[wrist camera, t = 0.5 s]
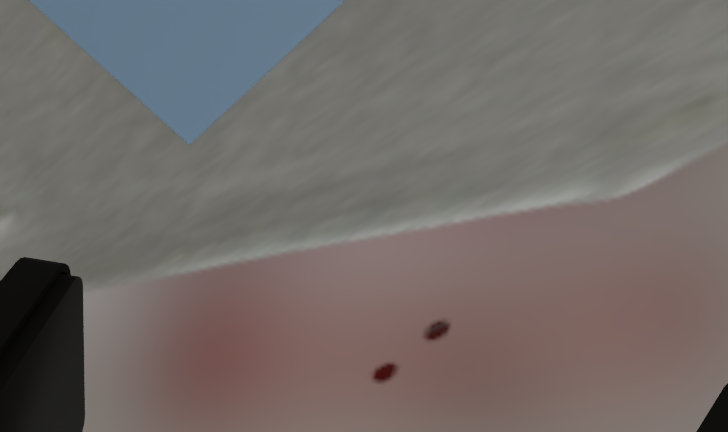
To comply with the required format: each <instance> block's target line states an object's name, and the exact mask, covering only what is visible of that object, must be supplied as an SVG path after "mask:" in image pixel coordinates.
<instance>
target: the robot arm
mask: <svg viewBox="0 0 728 432" xmlns="http://www.w3.org/2000/svg"><path fill="white" fill-rule="evenodd" d="M83 338H84V336H83V284H82V280H81V278H80V277H77V276H71V275H70V269H69V267H68V265H66V264H64V263H57V262H51V261H45V260H39V259H33V258H26V257H24V258H20V259H19V260H18V261H17V262H16V263H15V264H14V265H13V267H12V268H11V269H10V270H9V271H8V273H7V274H6V275H5V276H4V278H3V279H2V280H1V281H0V432H82V430H83V426H84V419H85V397H84V339H83ZM697 432H728V384H727V385H726V386H725V387H724V388H723V390H722V392H721V393H720V395H719V397H718V398H717V400H716V401H715V403H714V404H713V406H712V408H711V409H710V411H709V413H708V414H707V416H706V417H705V419H704V421H703V422H702V424H701V425H700V427H699V429H698V430H697Z"/></svg>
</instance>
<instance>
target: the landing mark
mask: <svg viewBox="0 0 728 432" xmlns="http://www.w3.org/2000/svg"><path fill="white" fill-rule="evenodd" d="M30 1H31V2H32V3H33V4H34V5H35V6H36V7H37V8H38V9H40V10H41V11H42V12H43V13H44V14H45V15H46V16H47V17H48V18H49V19H51V20H52V21H53V22H54V23H55V24H56V25H57V26H58V27H59V28H61V29H62V30H63V31H64V32H65V33H66V34H67V35H68V36H69V37H71V38H72V39H73V40H74V41H75V42H76V43H77V44H78V45H79V46H80V47H82V48H83V49H84V50H85V51H86V52H87V53H88V54H89V55H90V56H92V57H93V58H94V59H95V60H96V61H97V62H98V63H99V64H100V65H102V66H103V67H104V68H105V69H106V70H107V71H108V72H109V73H110V74H111V75H113V76H114V77H115V78H116V79H117V80H118V81H119V82H120V83H121V84H123V85H124V86H125V87H126V88H127V89H128V90H129V91H130V92H131V93H133V94H134V95H135V96H136V97H137V98H138V99H139V100H140V101H141V102H142V103H144V104H145V105H146V106H147V107H148V108H149V109H150V110H151V111H152V112H154V113H155V114H156V115H157V116H158V117H159V118H160V119H161V120H162V121H164V122H165V123H166V124H167V125H168V126H169V127H170V128H171V129H172V130H173V131H175V132H176V133H177V134H178V135H179V136H180V137H181V138H182V139H183V140H185V141H186V142H187V143H188V144H189V145H190V144H191V143H192V142H193V141H194V140H195V139H196V138H198V137H199V136H200V135H201V134H202V133H203V132H204V131H205V130H206V129H207V128H208V127H209V126H210V125H211V124H213V123H214V122H215V121H216V120H217V119H218V118H219V117H220V116H221V115H222V114H223V113H224V112H225V111H226V110H228V109H229V108H230V107H231V106H232V105H233V104H234V103H235V102H236V101H237V100H238V99H239V98H240V97H241V96H243V95H244V94H245V93H246V92H247V91H248V90H249V89H250V88H251V87H252V86H253V85H254V84H255V83H256V82H258V81H259V80H260V79H261V78H262V77H263V76H264V75H265V74H266V73H267V72H268V71H269V70H270V69H271V68H273V67H274V66H275V65H276V64H277V63H278V62H279V61H280V60H281V59H282V58H283V57H284V56H285V55H287V54H288V53H289V52H290V51H291V50H292V49H293V48H294V47H295V46H296V45H297V44H298V43H299V42H300V41H302V40H303V39H304V38H305V37H306V36H307V35H308V34H309V33H310V32H311V31H312V30H313V29H314V28H315V27H317V26H318V25H319V24H320V23H321V22H322V21H323V20H324V19H325V18H326V17H327V16H328V15H329V14H330V13H332V12H333V11H334V10H335V9H336V8H337V7H338V6H339V5H340V4H341V3H342V2H343V1H344V0H30Z"/></svg>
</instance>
